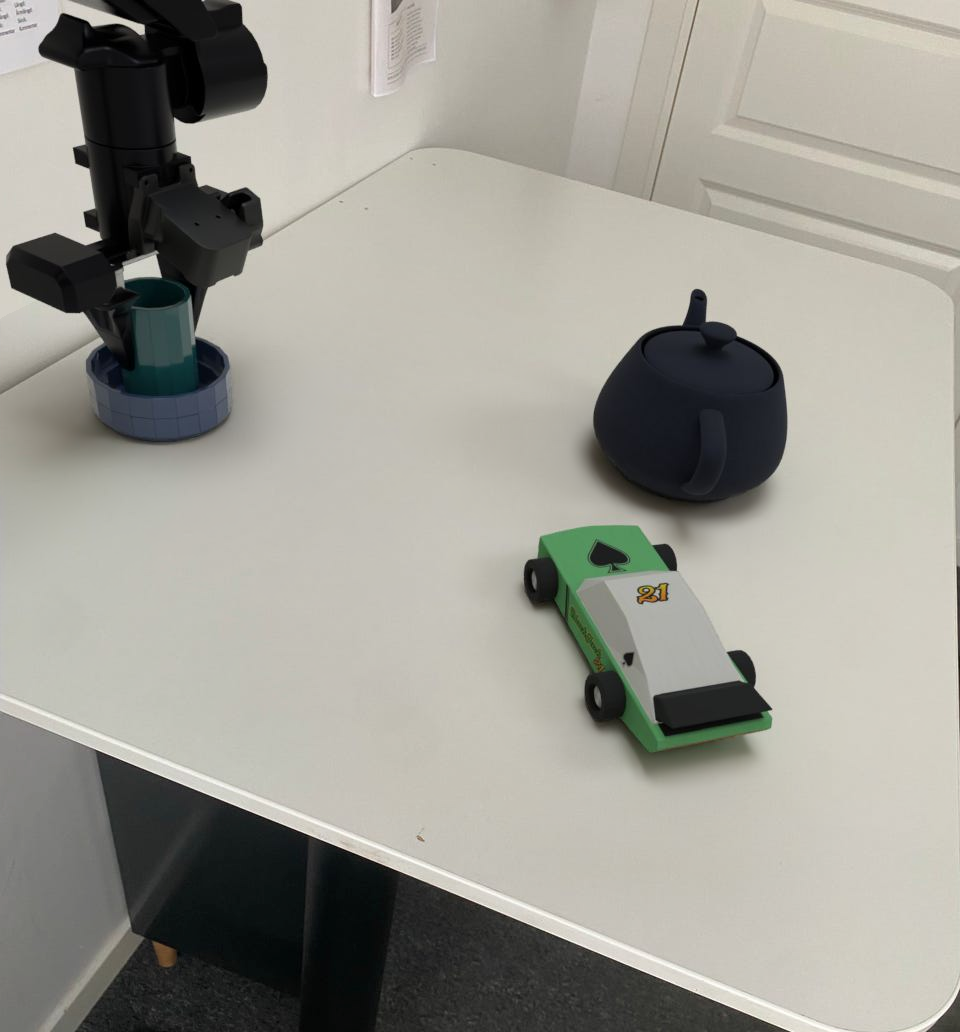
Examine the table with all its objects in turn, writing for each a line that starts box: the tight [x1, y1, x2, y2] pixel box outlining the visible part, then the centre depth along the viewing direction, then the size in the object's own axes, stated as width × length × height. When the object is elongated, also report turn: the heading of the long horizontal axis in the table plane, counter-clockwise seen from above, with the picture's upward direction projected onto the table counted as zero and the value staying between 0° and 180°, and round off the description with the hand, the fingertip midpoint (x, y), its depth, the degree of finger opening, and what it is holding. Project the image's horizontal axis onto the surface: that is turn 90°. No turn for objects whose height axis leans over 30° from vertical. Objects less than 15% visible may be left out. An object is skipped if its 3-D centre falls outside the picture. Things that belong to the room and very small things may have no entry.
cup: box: [121, 276, 199, 396], centre depth 72 cm, size 6×6×8 cm
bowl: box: [85, 335, 234, 442], centre depth 74 cm, size 11×11×4 cm
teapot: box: [592, 288, 789, 503], centre depth 75 cm, size 25×16×12 cm, turn 174°
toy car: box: [523, 524, 773, 754], centre depth 60 cm, size 10×19×5 cm, turn 18°
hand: (157, 355), depth 72 cm, fingers closed on cup, 6 cm apart
